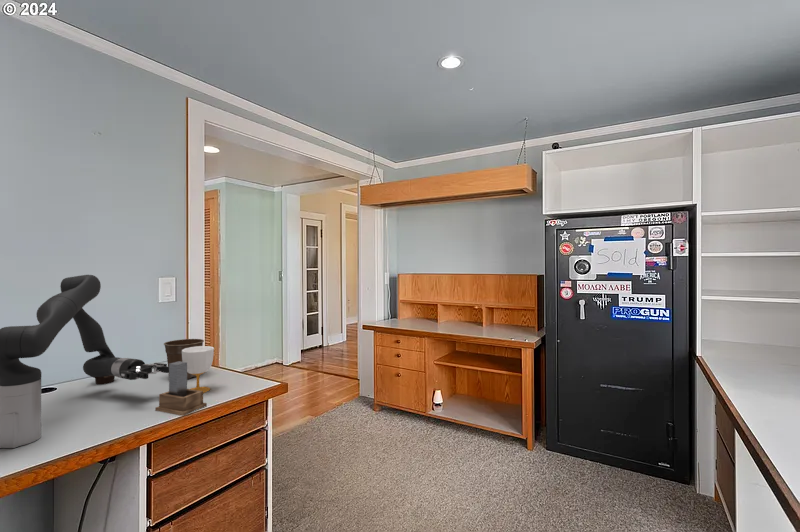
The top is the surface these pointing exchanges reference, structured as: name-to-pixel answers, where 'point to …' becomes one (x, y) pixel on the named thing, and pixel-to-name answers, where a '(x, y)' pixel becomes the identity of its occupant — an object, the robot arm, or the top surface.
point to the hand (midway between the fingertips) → (158, 372)
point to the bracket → (178, 379)
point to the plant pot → (180, 350)
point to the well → (181, 402)
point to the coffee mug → (104, 379)
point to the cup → (198, 362)
